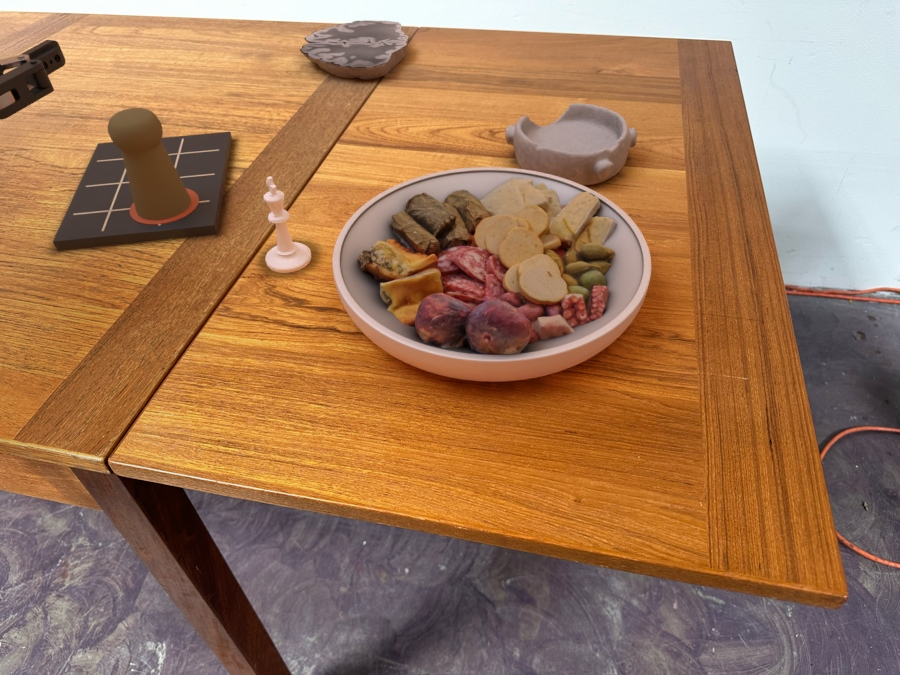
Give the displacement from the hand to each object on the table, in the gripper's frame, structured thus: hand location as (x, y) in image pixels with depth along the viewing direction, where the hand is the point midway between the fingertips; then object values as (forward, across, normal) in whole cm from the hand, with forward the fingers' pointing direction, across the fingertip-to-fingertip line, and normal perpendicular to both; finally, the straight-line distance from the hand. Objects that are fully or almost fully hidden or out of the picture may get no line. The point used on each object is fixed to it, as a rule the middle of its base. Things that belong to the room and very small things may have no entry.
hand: (19, 46), depth 60 cm
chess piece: (+1, -22, +21) cm, 31 cm away
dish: (+28, -48, +21) cm, 60 cm away
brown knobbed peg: (+5, -5, +19) cm, 20 cm away
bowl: (+2, -44, +21) cm, 49 cm away
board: (+9, 0, +21) cm, 23 cm away
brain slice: (+52, -10, +21) cm, 57 cm away
